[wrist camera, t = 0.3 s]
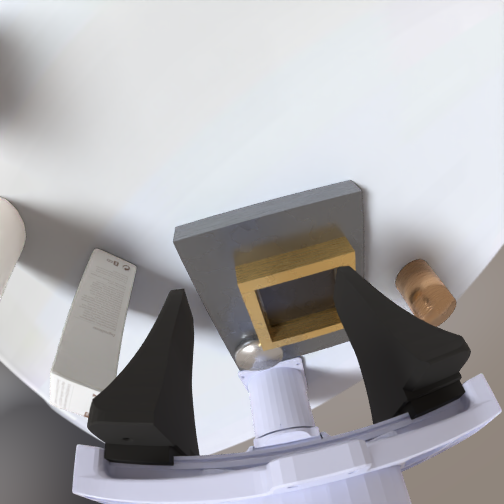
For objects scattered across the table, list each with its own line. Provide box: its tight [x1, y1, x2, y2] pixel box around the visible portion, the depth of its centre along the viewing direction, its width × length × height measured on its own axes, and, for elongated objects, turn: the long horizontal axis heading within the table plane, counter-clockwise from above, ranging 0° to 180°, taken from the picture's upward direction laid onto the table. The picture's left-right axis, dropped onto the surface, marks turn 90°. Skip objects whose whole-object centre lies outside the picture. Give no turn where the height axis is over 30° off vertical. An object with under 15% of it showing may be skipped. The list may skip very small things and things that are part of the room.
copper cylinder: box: [395, 259, 456, 327], centre depth 27 cm, size 4×4×6 cm
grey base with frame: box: [173, 180, 364, 371], centre depth 26 cm, size 18×14×4 cm
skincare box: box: [50, 248, 137, 417], centre depth 20 cm, size 6×4×12 cm
